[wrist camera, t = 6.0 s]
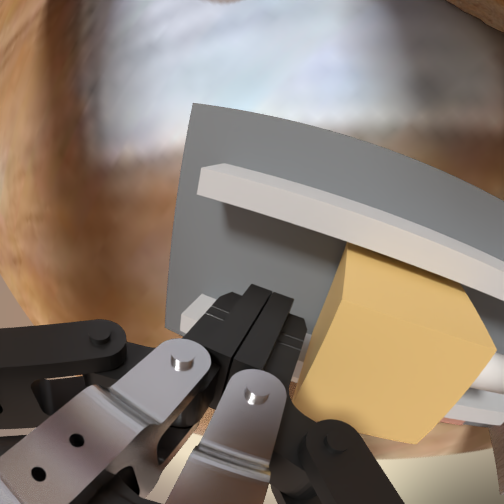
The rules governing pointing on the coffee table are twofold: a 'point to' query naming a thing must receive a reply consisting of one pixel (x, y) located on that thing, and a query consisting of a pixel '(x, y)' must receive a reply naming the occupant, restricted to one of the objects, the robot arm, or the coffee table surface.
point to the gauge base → (323, 224)
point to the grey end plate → (498, 451)
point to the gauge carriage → (394, 349)
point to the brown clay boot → (484, 11)
